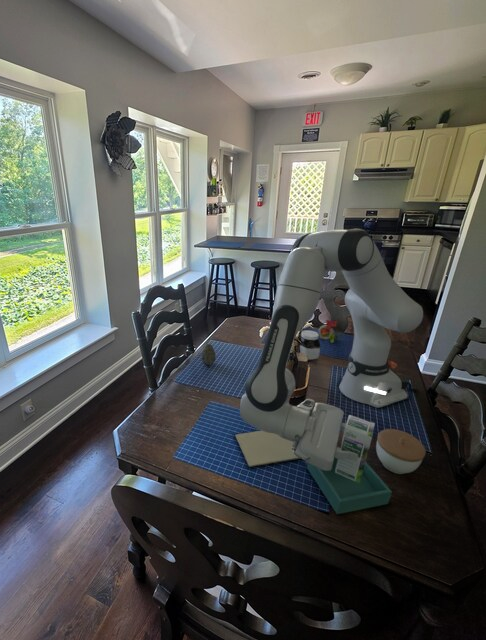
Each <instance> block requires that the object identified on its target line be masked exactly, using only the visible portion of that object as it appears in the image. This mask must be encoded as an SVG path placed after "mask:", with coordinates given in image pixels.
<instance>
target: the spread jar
mask: <svg viewBox="0 0 486 640" xmlns="http://www.w3.org/2000/svg"><path fill="white" fill-rule="evenodd" d="M300 336H301V344H300V353H304V354H306V356H307V358H308V361H307V362H313V361H316V360H318V358H319V356H320V353H321V342H320V340H319V336H320V335H319V332H317V331H314V330H310V329H309V330H302V331H301V335H300Z"/></svg>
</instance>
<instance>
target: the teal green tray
mask: <svg viewBox="0 0 486 640" xmlns="http://www.w3.org/2000/svg"><path fill="white" fill-rule="evenodd" d="M337 461H338V459H337V458H334V461H333V465H332V469H331V470H330V471H324V470H322V469H320V468H317V467H315V466H313V465H311V464H309V463H308V462H306V463H307V464H306V469H307V471H308V472H309V474H310V475H311V477H312V478H313V480H314V481H315V483H316V484H317V486H318V487H319V488H320V491H321V492H322V494H323V495H324V497H325V499H327V501H328V503H329V504H330V506H331V507H332V509H333V511H334V512H335V514H336V515H340V514H345V513H350V512H355V511H360V510H364V509H370V508H374V507H379V506H385V505H388V504H389V503H390V500H391V497H392V494H393V491H392V490H391V488H389V486H388V485H387V484H386V483H385V482H384V481H383V479H381V477H380V476H379V475H378V474H377V472H375V470H374V469H373V468H372V467H371V466H370V464H368V462H367V461H366V462H365V466H364V469H363V473H362V477H361V480H360V483H357V482H355V481H353V480H351V479H348V478H346V477H344V476H342V475H340V474H336V473H335V469H336V465H337Z"/></svg>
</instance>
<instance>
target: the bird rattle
mask: <svg viewBox="0 0 486 640" xmlns="http://www.w3.org/2000/svg"><path fill="white" fill-rule="evenodd" d="M337 325H338V321H333V320H329V319H326V324H322V325H321V326H319V328H318V334H319V336H320V340H329V341H330V344H333V343H335V340H337V339H338V338H339V337H340V334H338V333H337V334H336V333H335V328H337Z"/></svg>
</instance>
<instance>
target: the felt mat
mask: <svg viewBox="0 0 486 640" xmlns="http://www.w3.org/2000/svg"><path fill="white" fill-rule="evenodd" d="M235 438H236V441H237V443H238V445H239V447H240V450H241V452H242V454H243V456H244V459H245V461H246V463H247V465H248V467H249V468H252V467H256V466H264V465H269V464H275V463H276V464H277V463H282V462H288V461H292V460H293V461H294V460H298V459H300V458H299V457H297V456H295V454H294V453H293V450H292V445H293V444H294V442H292V441H289V440H287V439H284V438H282V437H280V436H279V435H277V434H275V433H268V432H265V431H262V430H257V431H250V432H249V431H248V432H242V433H236V434H235Z"/></svg>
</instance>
